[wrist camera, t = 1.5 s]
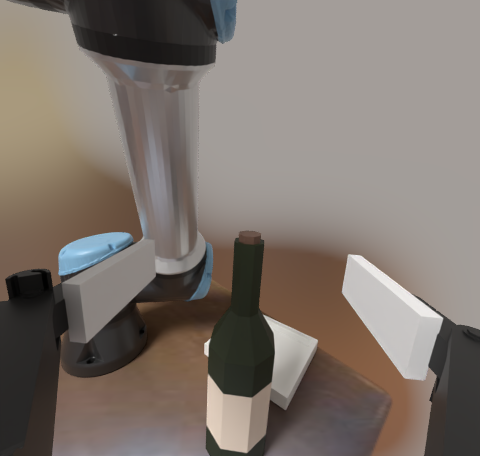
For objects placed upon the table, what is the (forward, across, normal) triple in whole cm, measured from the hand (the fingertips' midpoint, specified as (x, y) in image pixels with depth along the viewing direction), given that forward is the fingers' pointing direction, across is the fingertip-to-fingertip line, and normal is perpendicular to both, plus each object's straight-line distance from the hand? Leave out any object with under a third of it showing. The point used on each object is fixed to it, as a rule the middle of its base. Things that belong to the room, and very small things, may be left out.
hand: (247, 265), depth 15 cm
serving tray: (+26, +4, -30) cm, 40 cm away
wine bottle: (+10, 0, -30) cm, 32 cm away
